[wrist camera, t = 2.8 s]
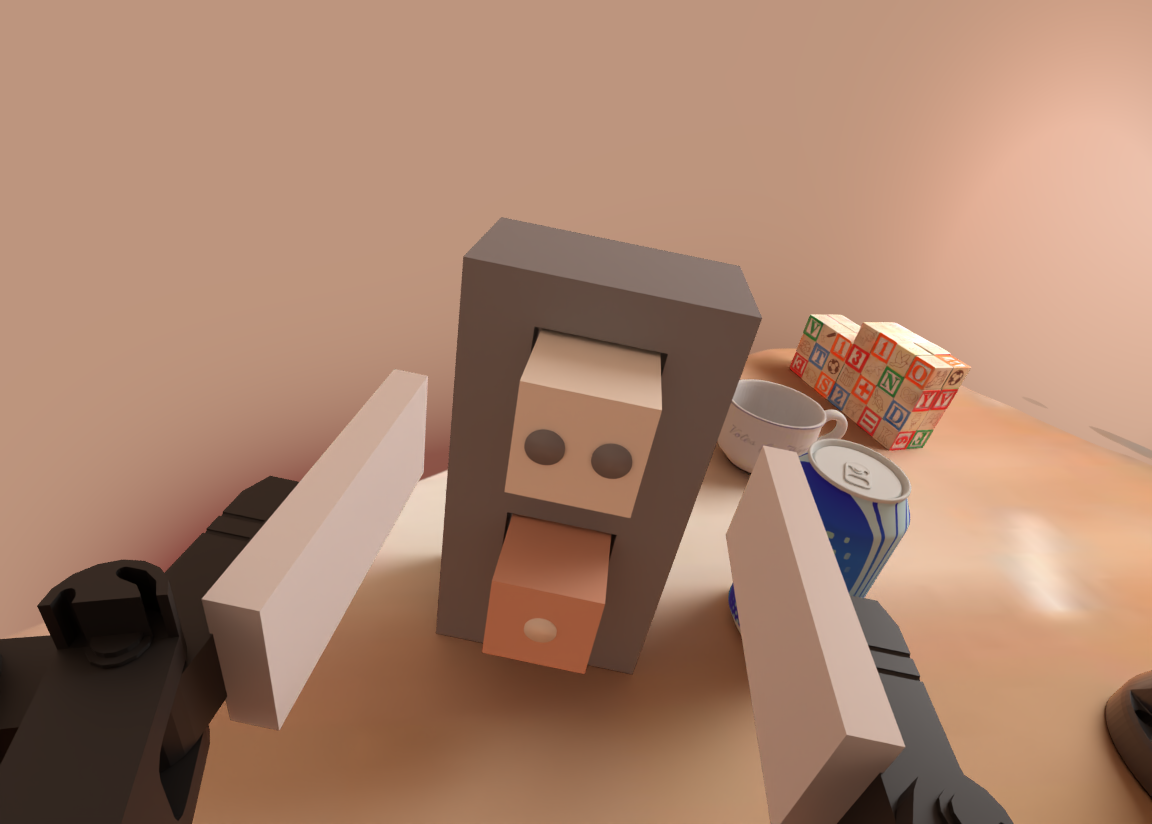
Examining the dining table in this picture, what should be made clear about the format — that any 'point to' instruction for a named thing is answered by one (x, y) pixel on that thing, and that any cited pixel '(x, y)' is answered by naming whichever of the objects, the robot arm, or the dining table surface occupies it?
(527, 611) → the lower button
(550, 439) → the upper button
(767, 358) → the dining table surface
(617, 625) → the button post
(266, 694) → the robot arm
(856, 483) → the beer can
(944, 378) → the stack of blocks
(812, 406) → the teacup
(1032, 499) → the dining table surface
